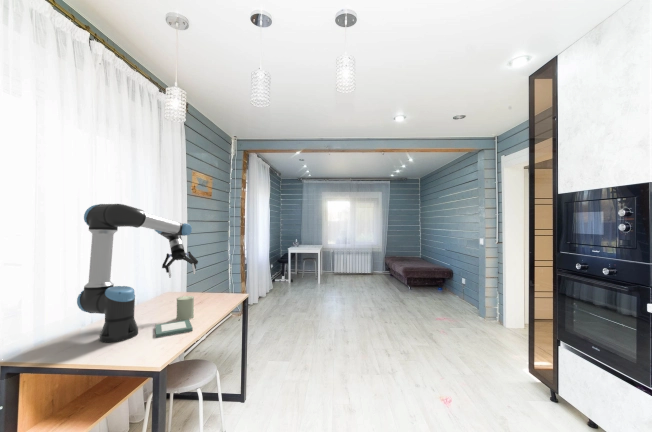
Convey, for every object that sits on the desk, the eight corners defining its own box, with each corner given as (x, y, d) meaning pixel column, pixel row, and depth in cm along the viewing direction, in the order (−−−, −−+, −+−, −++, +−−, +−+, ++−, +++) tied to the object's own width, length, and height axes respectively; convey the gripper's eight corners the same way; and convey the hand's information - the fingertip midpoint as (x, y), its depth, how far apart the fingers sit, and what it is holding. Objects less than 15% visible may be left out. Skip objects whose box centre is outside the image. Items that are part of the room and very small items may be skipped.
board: (155, 337, 137) (155, 334, 137) (155, 327, 151) (155, 324, 151) (192, 331, 145) (192, 327, 145) (189, 322, 159) (189, 319, 159)
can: (189, 320, 162) (189, 298, 163) (172, 320, 162) (173, 298, 163) (196, 315, 171) (196, 295, 172) (181, 315, 172) (181, 295, 172)
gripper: (196, 249, 196) (203, 275, 185) (154, 253, 181) (158, 281, 169) (198, 242, 192) (205, 268, 180) (155, 245, 176) (159, 274, 165)
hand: (182, 274), depth 175 cm, fingers open, 13 cm apart
